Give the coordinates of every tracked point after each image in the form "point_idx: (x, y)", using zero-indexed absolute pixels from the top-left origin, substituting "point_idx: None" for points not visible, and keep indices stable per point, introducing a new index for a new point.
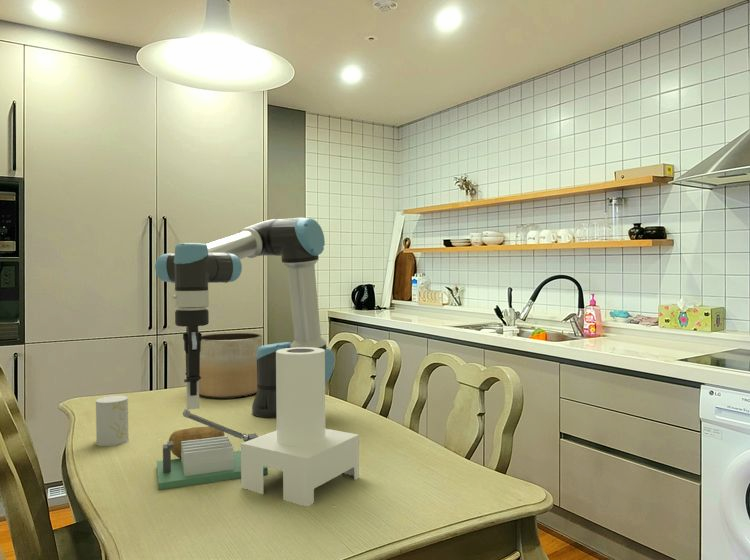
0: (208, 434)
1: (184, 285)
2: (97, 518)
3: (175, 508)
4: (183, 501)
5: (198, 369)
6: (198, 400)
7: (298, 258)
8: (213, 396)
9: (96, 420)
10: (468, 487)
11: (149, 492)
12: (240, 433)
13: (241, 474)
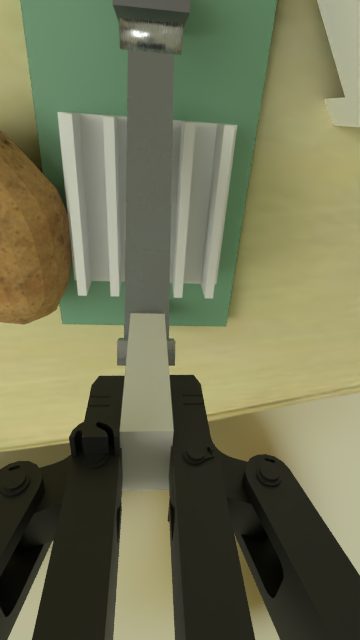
0: (23, 195)
1: None
2: (294, 402)
3: (341, 294)
4: (317, 277)
5: (344, 565)
6: (166, 341)
7: None
8: None
9: None
10: None
11: (225, 333)
12: (137, 57)
13: (354, 126)
